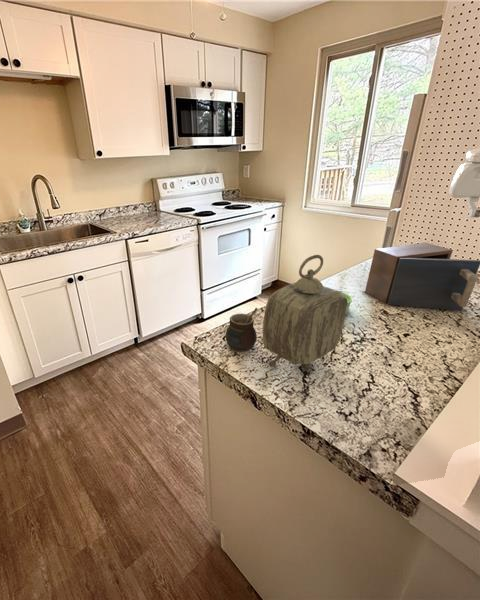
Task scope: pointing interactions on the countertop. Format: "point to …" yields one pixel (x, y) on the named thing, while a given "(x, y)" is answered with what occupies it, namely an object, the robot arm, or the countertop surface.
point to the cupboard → (388, 262)
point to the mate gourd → (241, 332)
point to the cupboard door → (433, 283)
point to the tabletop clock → (303, 319)
